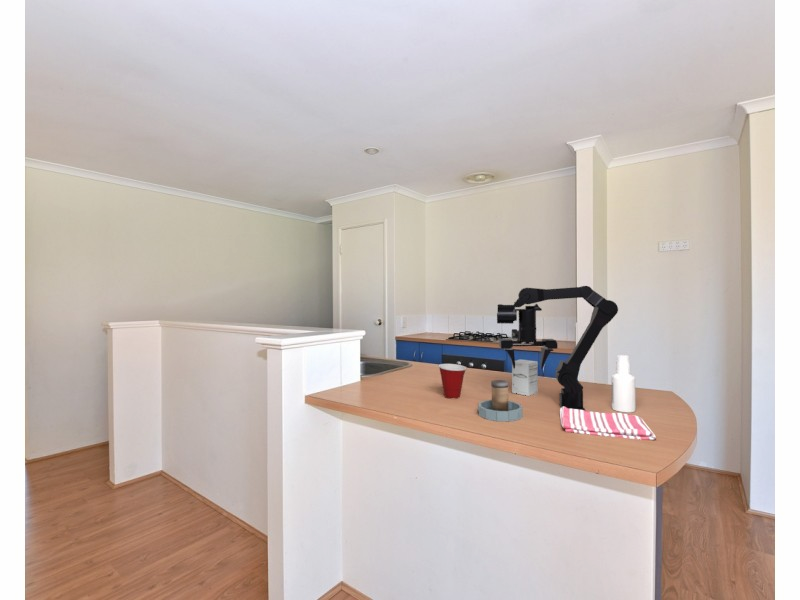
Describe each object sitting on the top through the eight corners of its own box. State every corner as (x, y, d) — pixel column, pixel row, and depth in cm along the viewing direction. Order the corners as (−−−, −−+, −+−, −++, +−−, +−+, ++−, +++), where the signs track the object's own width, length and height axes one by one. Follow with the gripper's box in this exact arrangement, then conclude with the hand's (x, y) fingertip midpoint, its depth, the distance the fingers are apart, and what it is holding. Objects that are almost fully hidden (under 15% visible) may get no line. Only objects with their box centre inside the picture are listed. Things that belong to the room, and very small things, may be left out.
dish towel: (559, 415, 127) (559, 405, 126) (642, 422, 119) (642, 411, 119) (562, 434, 110) (562, 421, 110) (658, 443, 103) (658, 430, 103)
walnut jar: (511, 411, 128) (510, 381, 128) (505, 416, 124) (505, 384, 123) (495, 409, 131) (494, 379, 131) (489, 413, 126) (488, 382, 126)
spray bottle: (631, 407, 132) (631, 354, 132) (638, 413, 126) (637, 357, 125) (609, 406, 134) (609, 353, 134) (614, 412, 128) (614, 357, 127)
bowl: (517, 408, 133) (517, 400, 133) (525, 421, 120) (525, 412, 120) (477, 408, 135) (477, 399, 135) (480, 420, 121) (480, 411, 121)
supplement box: (511, 393, 154) (511, 361, 153) (521, 389, 159) (521, 358, 158) (528, 396, 148) (528, 363, 148) (538, 393, 153) (538, 360, 153)
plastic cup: (466, 401, 144) (466, 368, 143) (437, 400, 146) (436, 367, 146) (467, 393, 154) (467, 363, 154) (440, 392, 156) (439, 362, 156)
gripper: (549, 321, 143) (549, 364, 143) (497, 322, 145) (497, 364, 146) (557, 324, 132) (558, 370, 132) (501, 324, 134) (501, 369, 135)
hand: (527, 368), depth 136 cm, fingers open, 9 cm apart
